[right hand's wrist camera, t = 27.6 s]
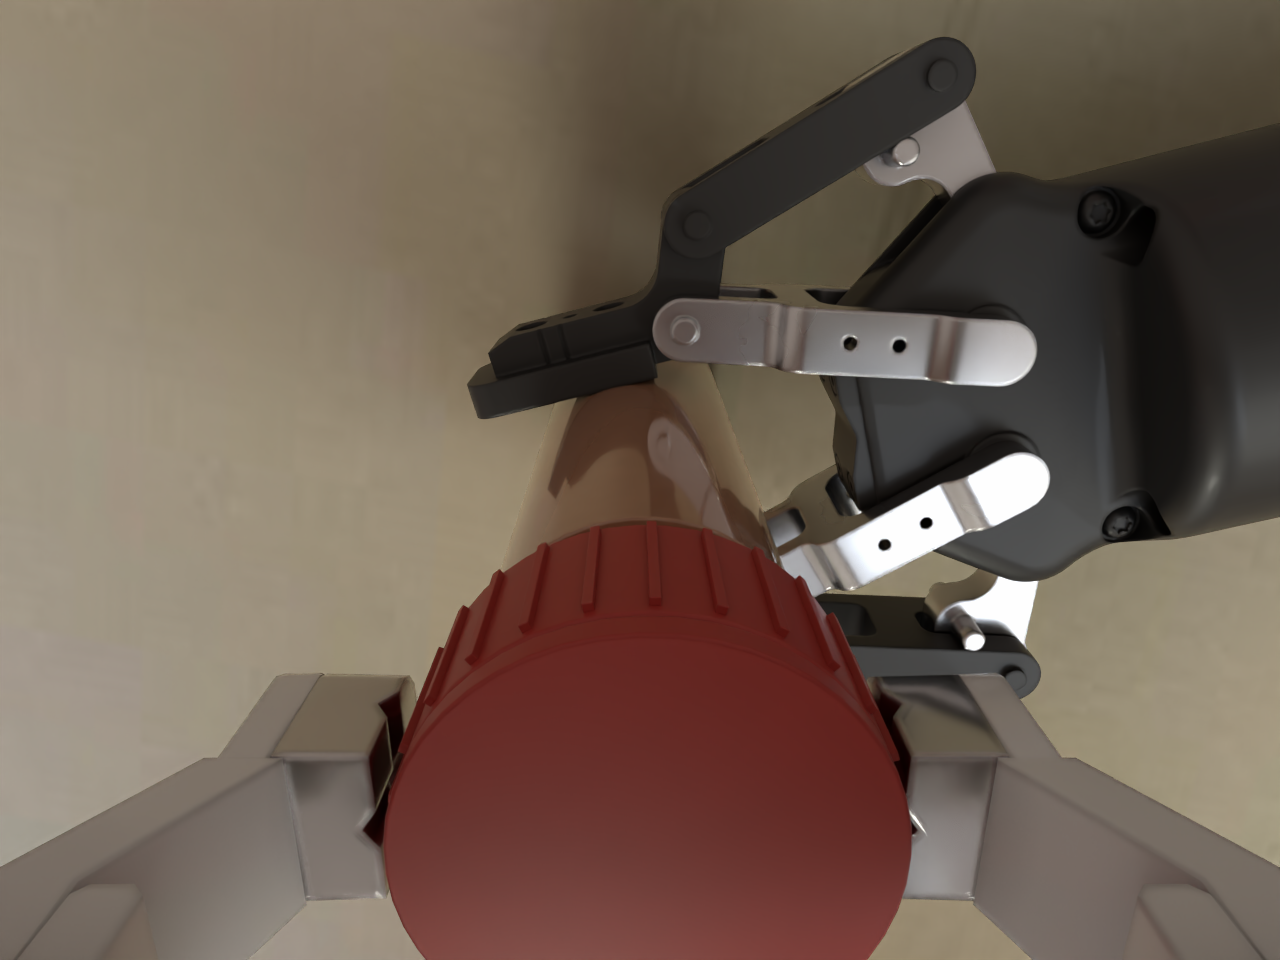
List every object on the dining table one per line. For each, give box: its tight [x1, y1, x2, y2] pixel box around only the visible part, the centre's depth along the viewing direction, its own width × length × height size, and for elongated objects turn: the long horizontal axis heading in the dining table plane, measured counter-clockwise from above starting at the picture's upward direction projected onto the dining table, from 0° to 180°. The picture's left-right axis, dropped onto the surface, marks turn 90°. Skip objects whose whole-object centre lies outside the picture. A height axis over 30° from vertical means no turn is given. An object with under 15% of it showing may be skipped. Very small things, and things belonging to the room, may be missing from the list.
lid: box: [383, 521, 912, 960], centre depth 9 cm, size 5×5×2 cm
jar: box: [501, 360, 786, 572], centre depth 17 cm, size 4×4×17 cm
